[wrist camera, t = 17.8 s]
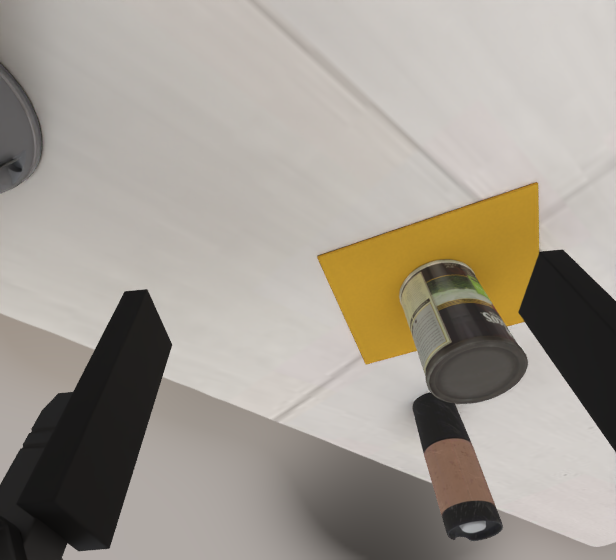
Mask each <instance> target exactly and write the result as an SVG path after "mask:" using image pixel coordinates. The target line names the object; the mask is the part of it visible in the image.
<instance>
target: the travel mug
mask: <svg viewBox="0 0 616 560" xmlns="http://www.w3.org/2000/svg"><path fill="white" fill-rule="evenodd" d="M413 412H414V416H415V420H416V424H417V428H418V432H419V436H420V440H421V444H422V449H423V453H424V456H425V460H426V463H427V467H428V470H429V474H430V477H431V480H432V484H433V487H434V491H435V494H436V498H437V501H438V505H439V508H440V511H441V515H442V518H443V522H444V525H445V528H446V532H447V535H448V537H449V538H451V539H453V540H455V538H456V537H466V538H468V539H469V540H471V541H478V540H483V539H487V538H490V537H492V536H494V535H496V534H498V533H499V532H500V531H501V530H502V528H503V525H502V522H501V519H500V517H499V514H498V511H497V509H496V506H495V503H494V501H493V498H492V496H491V493H490V490H489V488H488V485H487V482H486V480H485V477H484V475H483V472H482V469H481V467H480V464H479V461H478V459H477V456H476V453H475V451H474V448H473V446H472V443H471V441H470V438H469V436H468V434H467V431H466V429H465V427H464V424H463V422H462V420H461V417H460V415H459V413H458V410H457V408H456V406H455V403H450V402H446V401H443V400H440V399H438V398H437V397H435V396H434V395H433V394H432V393H428V394H425V395H423V396H421V397H419V398H418V399H417V400H416V401H415V402H414V404H413Z"/></svg>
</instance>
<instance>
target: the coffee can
mask: <svg viewBox="0 0 616 560" xmlns="http://www.w3.org/2000/svg"><path fill="white" fill-rule="evenodd" d="M399 298H400V303H401V305H402V307H403V310H404V313H405V316H406V319H407V322H408V325H409V328H410V331H411V334H412V337H413V340H414V343H415V346H416V349H417V352H418V355H419V358H420V361H421V364H422V367H423V370H424V373H425V376H426V383H427V386H428V389H429V391H430V392H431V393H432V394H433V395H434V396H435V397H437V398H438V399H440V400H443V401H446V402H450V403H457V404H467V403H476V402H482V401H485V400H489V399H492V398H494V397H496V396H499V395H501V394H503V393H505V392H506V391H508V390H509V389H511V388H512V387H513V386H515V385H516V384H517V383H518V382H519V381H520V379H521V378H522V377H523V375H524V374H525V372H526V369H527V366H528V360H527V357H526V354H525V353H524V351H523V350H522V348H521V347H520V346H519V345H518V344H517V343H516V341H515V339H514V338H513V336H512V334H511V333H510V331H509V330H508V328H507V326H506V325H505V323H504V322H503V320H502V318H501V317H500V315H499V313H498V312H497V310H496V309H495V307H494V305H493V304H492V302H491V301H490V299H489V297H488V296H487V294H486V292H485V291H484V289H483V288H482V286H481V284H480V283H479V281H478V279H477V278H476V276H475V273H474V271H473V270H472V269H471V268H470V267H469V266H468V265H466V264H464V263H462V262H460V261H456V260H450V259H444V260H436V261H432V262H429V263H426V264H424V265H422V266H420V267H418V268H417V269H415V270H414V271H413V272H412V273H410V274H409V275H408V276H407V278H406V279H405V280H404V282H403V284H402V286H401V288H400V294H399Z"/></svg>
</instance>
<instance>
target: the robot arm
mask: <svg viewBox="0 0 616 560" xmlns="http://www.w3.org/2000/svg"><path fill="white" fill-rule="evenodd" d="M41 152H42V135H41V130H40V126H39V122H38V119H37V116H36V114H35V111H34V109H33V107H32V105H31V103H30V101H29V99H28V97H27V96H26V94H25V93H24V91H23V90H22V88H21V86H20V85H19V84H18V83H17V81H16V80H15V79H14V77H13V76H12V75H11V74H10V73H9V72H8V70H7V69H6V68H5V67H4V66H3V65H2V64H1V63H0V193H3V192H5V191H8V190H10V189H12V188H14V187H16V186H18V185H19V184H20V183H22V182H23V181H24V180H26V179H27V178H28V177H29V176H30V175H31V174H32V173H33V172H34V170H35V169H36V167H37V165H38V163H39V160H40V157H41ZM518 313H519V314H520V316H521V317H522V319H523V320H524V322H525V323H526V324H527V326H528V327H529V329H530V330H531V332H532V333H533V334H534V336H535V337H536V339H537V340H538V342H539V343H540V344H541V346H542V347H543V349H544V350H545V352H546V353H547V354H548V356H549V357H550V359H551V360H552V362H553V363H554V364H555V366H556V367H557V369H558V370H559V372H560V373H561V374H562V376H563V377H564V379H565V380H566V382H567V383H568V384H569V386H570V387H571V389H572V390H573V392H574V393H575V395H576V396H577V397H578V399H579V400H580V402H581V403H582V405H583V406H584V407H585V409H586V410H587V412H588V413H589V415H590V416H591V417H592V419H593V420H594V422H595V423H596V425H597V426H598V427H599V429H600V430H601V432H602V433H603V435H604V436H605V437H606V439H607V440H608V442H609V443H610V445H611V446H612V447H613V449H614V450H615V452H616V301H615V300H614V299H613V298H612V297H611V296H610V295H609V294H608V293H607V292H606V291H605V290H604V289H603V288H602V287H601V286H600V285H599V284H598V283H597V282H595V281H594V280H593V279H592V278H591V277H590V276H589V275H588V274H587V273H586V272H585V271H584V270H583V269H582V268H581V267H580V266H579V265H578V264H577V263H576V262H575V261H574V260H573V259H572V258H571V257H570V256H569V255H568V254H567V253H566V252H565V251H564V250H553V251H543V252H539V255H538V258H537V260H536V263H535V266H534V269H533V272H532V275H531V277H530V280H529V283H528V286H527V289H526V292H525V294H524V297H523V300H522V303H521V306H520V309H519V311H518ZM171 347H172V343H171V341H170V339H169V337H168V334H167V332H166V330H165V328H164V325H163V323H162V321H161V319H160V317H159V314H158V312H157V310H156V308H155V305H154V303H153V301H152V299H151V297H150V294H149V292H148V290H147V289H146V290H135V291H125V292H124V294H123V296H122V298H121V300H120V302H119V304H118V306H117V308H116V310H115V312H114V313H113V315H112V317H111V319H110V321H109V323H108V325H107V327H106V329H105V331H104V333H103V335H102V337H101V339H100V341H99V343H98V345H97V347H96V349H95V351H94V353H93V355H92V356H91V358H90V361H89V362H88V364H87V366H86V368H85V370H84V372H83V374H82V376H81V378H80V380H79V382H78V384H77V386H76V388H75V390H74V392H68V393H58V394H57V395H56V396H55V397H54V399H53V400H52V401H51V402H50V403H49V404H48V405H47V406H46V407H45V408H44V409H43V410H42V411H41V413H40V415H39V417H38V418H37V420H36V422H35V424H34V426H33V427H32V432H31V433H29V434H28V436H27V438H26V440H25V442H24V443H23V448H22V449H20V451H19V452H18V454H17V456H16V458H15V459H14V461H13V463H12V465H11V466H10V468H9V470H8V472H7V474H6V476H5V477H4V479H3V481H2V482H1V484H0V560H63V559H62V556H63V553H64V550H65V548H66V545H67V543H68V544H70V545H71V546H72V547H74V548H75V549H76V550H78V551H86V550H98V549H109V548H110V545H111V542H112V539H113V535H114V532H115V529H116V526H117V522H118V519H119V516H120V513H121V509H122V506H123V503H124V500H125V496H126V493H127V490H128V487H129V483H130V480H131V477H132V474H133V470H134V467H135V464H136V461H137V457H138V454H139V450H140V448H141V444H142V441H143V438H144V435H145V431H146V428H147V425H148V422H149V418H150V415H151V412H152V409H153V405H154V402H155V399H156V395H157V392H158V389H159V386H160V383H161V379H162V376H163V373H164V370H165V366H166V363H167V360H168V357H169V353H170V350H171Z"/></svg>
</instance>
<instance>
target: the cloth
mask: <svg viewBox="0 0 616 560" xmlns="http://www.w3.org/2000/svg"><path fill="white" fill-rule="evenodd" d="M538 255H539V206H538V183H537V182H536V183H533V184H530V185H527V186H524V187H521V188H518V189H515V190H512V191H509V192H506V193H503V194H500V195H497V196H495V197H492V198H489V199H486V200H483V201H480V202H477V203H474V204H471V205H468V206H465V207H462V208H459V209H456V210H453V211H450V212H447V213H444V214H441V215H438V216H435V217H432V218H429V219H426V220H423V221H420V222H417V223H414V224H411V225H408V226H405V227H402V228H399V229H396V230H393V231H390V232H388V233H385V234H382V235H379V236H376V237H373V238H370V239H367V240H364V241H361V242H358V243H355V244H352V245H349V246H346V247H343V248H340V249H337V250H334V251H331V252H328V253H325V254H322V255H319V256H317V258H318V260H319V262H320V264H321V267H322V269H323V271H324V273H325V275H326V278H327V280H328V282H329V284H330V287H331V289H332V291H333V293H334V295H335V298H336V300H337V302H338V304H339V306H340V309H341V311H342V313H343V315H344V317H345V320H346V322H347V324H348V326H349V328H350V331H351V333H352V335H353V337H354V339H355V342H356V344H357V346H358V348H359V350H360V353H361V355H362V357H363V359H364V362H365V364H370V363H373V362H377V361H381V360H385V359H388V358H392V357H396V356H399V355H403V354H407V353H410V352H414V351H417V349H416V346H415V343H414V340H413V337H412V334H411V331H410V328H409V325H408V322H407V319H406V316H405V313H404V310H403V307H402V305H401V303H400V298H399V294H400V288H401V286H402V284H403V282H404V280H405V279H406V278H407V276H408V275H409V274H410V273H412V272H413V271H414V270H415V269H417V268H418V267H420V266H422V265H424V264H426V263H429V262H432V261H436V260H444V259H450V260H456V261H460V262H462V263H464V264H466V265H468V266H469V267H470V268H471V269H472V270H473V271H474V273H475V276H476V278H477V279H478V281H479V283H480V284H481V286H482V288H483V289H484V291H485V292H486V294H487V296H488V297H489V299H490V301H491V302H492V304H493V305H494V307H495V309H496V310H497V312H498V313H499V315H500V317H501V318H502V320H503V322H504V323H505V325H506V326H511V325H514V324H518V323H522V322H524V320H523V319H522V317H521V316H520V314H519V313H518V311H519V309H520V306H521V303H522V300H523V297H524V294H525V292H526V289H527V286H528V283H529V280H530V277H531V275H532V272H533V269H534V266H535V263H536V260H537V258H538Z"/></svg>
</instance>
